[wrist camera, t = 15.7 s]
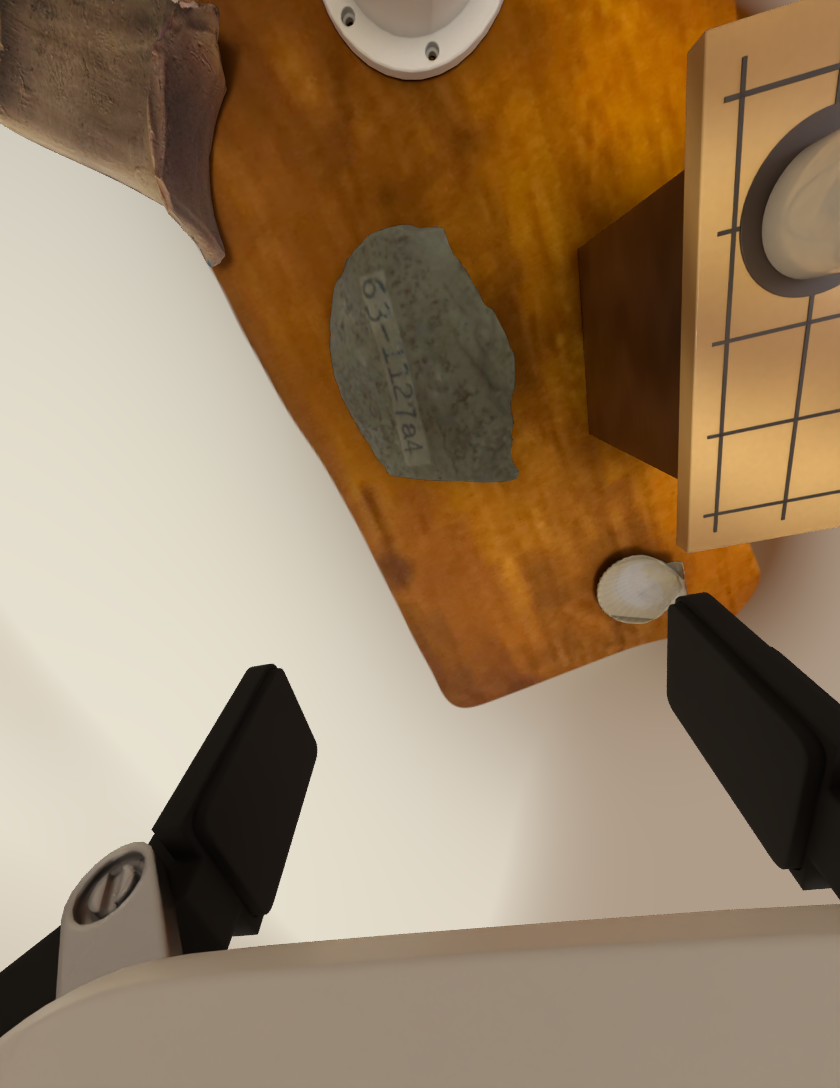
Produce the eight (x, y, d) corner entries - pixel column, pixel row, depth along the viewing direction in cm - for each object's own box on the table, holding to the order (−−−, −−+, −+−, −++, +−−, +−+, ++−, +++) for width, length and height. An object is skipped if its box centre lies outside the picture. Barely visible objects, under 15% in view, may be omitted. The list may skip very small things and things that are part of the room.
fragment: (-30, 156, 28) (45, 189, 33) (186, 256, 28) (230, 275, 32) (-34, -130, 23) (55, -43, 28) (229, -10, 23) (274, 58, 28)
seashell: (587, 554, 44) (600, 625, 45) (591, 562, 41) (604, 637, 42) (675, 539, 41) (686, 614, 43) (686, 546, 38) (697, 627, 40)
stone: (281, 278, 31) (468, 173, 25) (311, 280, 35) (483, 188, 28) (376, 511, 39) (539, 476, 32) (393, 493, 42) (544, 459, 36)
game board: (560, 204, 30) (707, 27, 14) (690, 167, 29) (1016, -72, 13) (579, 469, 38) (688, 554, 22) (683, 447, 37) (879, 521, 21)
